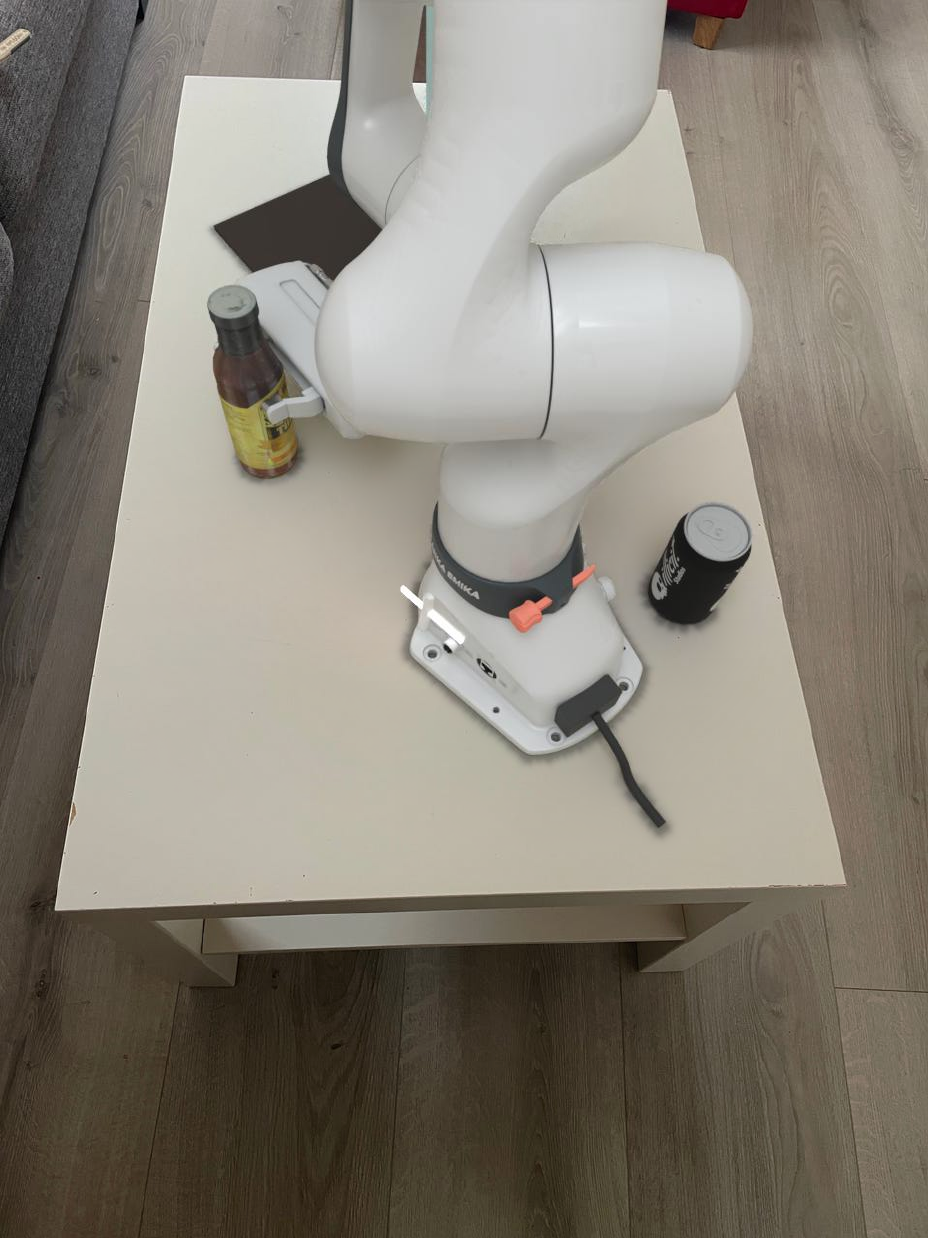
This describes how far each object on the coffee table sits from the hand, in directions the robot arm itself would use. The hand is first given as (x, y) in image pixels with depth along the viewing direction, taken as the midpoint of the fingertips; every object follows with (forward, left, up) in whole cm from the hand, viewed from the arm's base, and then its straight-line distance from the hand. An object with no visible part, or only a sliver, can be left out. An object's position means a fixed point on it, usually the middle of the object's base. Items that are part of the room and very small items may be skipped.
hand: (241, 384), depth 77 cm
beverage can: (-37, -24, -11) cm, 45 cm away
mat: (+22, -23, -11) cm, 34 cm away
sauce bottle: (0, -1, -11) cm, 11 cm away
